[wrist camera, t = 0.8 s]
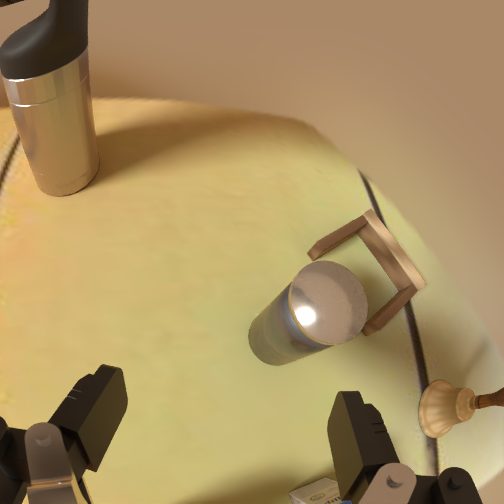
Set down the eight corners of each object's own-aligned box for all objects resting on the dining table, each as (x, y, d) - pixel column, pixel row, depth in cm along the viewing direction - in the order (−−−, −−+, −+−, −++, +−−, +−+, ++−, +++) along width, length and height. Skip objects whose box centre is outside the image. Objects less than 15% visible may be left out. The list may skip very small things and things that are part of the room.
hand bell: (450, 373, 35) (542, 343, 21) (458, 425, 31) (550, 408, 18) (413, 389, 33) (517, 362, 19) (421, 447, 29) (524, 439, 15)
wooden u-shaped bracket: (307, 253, 38) (320, 237, 34) (356, 223, 42) (371, 208, 39) (365, 335, 34) (384, 327, 31) (408, 294, 39) (425, 283, 36)
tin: (235, 328, 31) (274, 285, 21) (282, 299, 34) (335, 247, 23) (269, 377, 30) (326, 361, 19) (313, 345, 32) (381, 312, 22)
